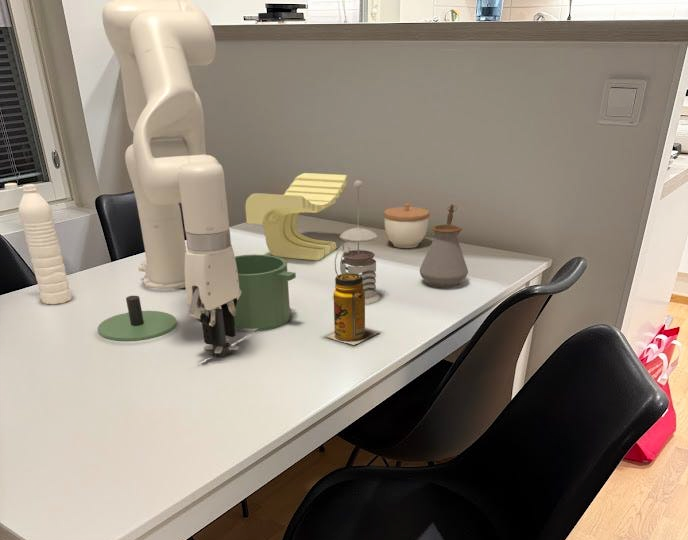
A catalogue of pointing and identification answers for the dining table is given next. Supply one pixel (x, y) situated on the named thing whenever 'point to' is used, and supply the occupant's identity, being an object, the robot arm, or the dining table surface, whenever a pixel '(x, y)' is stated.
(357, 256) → the french press
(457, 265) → the coffee pot
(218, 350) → the blade
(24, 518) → the dining table surface
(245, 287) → the chamber
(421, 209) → the lidded bowl
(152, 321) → the lid
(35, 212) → the water bottle
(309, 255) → the slatted curved stool
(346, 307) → the condiment
